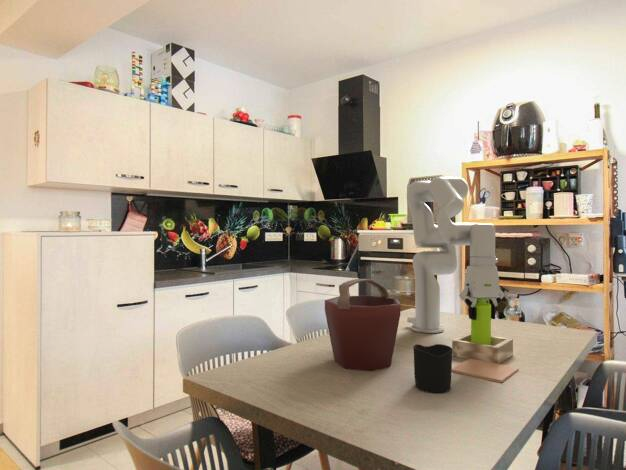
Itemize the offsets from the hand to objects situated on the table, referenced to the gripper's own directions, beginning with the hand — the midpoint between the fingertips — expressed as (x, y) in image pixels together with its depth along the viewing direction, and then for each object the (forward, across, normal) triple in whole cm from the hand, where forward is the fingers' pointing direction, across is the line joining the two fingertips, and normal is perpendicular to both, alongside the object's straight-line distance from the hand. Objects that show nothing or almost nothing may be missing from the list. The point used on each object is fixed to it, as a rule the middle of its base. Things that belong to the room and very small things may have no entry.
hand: (482, 318), depth 137 cm
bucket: (+12, +40, -1) cm, 42 cm away
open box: (+12, 0, 0) cm, 12 cm away
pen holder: (+12, +29, +24) cm, 39 cm away
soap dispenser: (+9, 0, 0) cm, 9 cm away
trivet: (+12, +8, +14) cm, 20 cm away
